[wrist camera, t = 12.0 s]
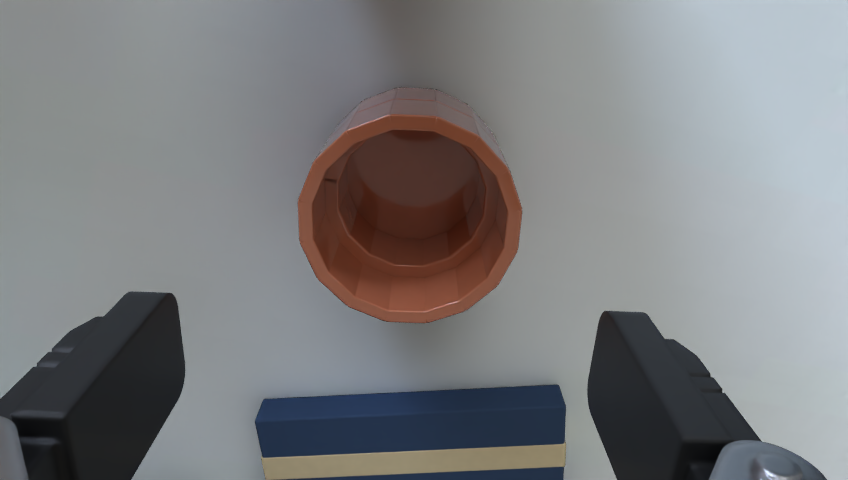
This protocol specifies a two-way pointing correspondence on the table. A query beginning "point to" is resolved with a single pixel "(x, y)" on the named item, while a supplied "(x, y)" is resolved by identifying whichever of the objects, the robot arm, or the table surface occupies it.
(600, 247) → the table surface
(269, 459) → the towel
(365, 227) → the flower pot
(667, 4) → the table surface
